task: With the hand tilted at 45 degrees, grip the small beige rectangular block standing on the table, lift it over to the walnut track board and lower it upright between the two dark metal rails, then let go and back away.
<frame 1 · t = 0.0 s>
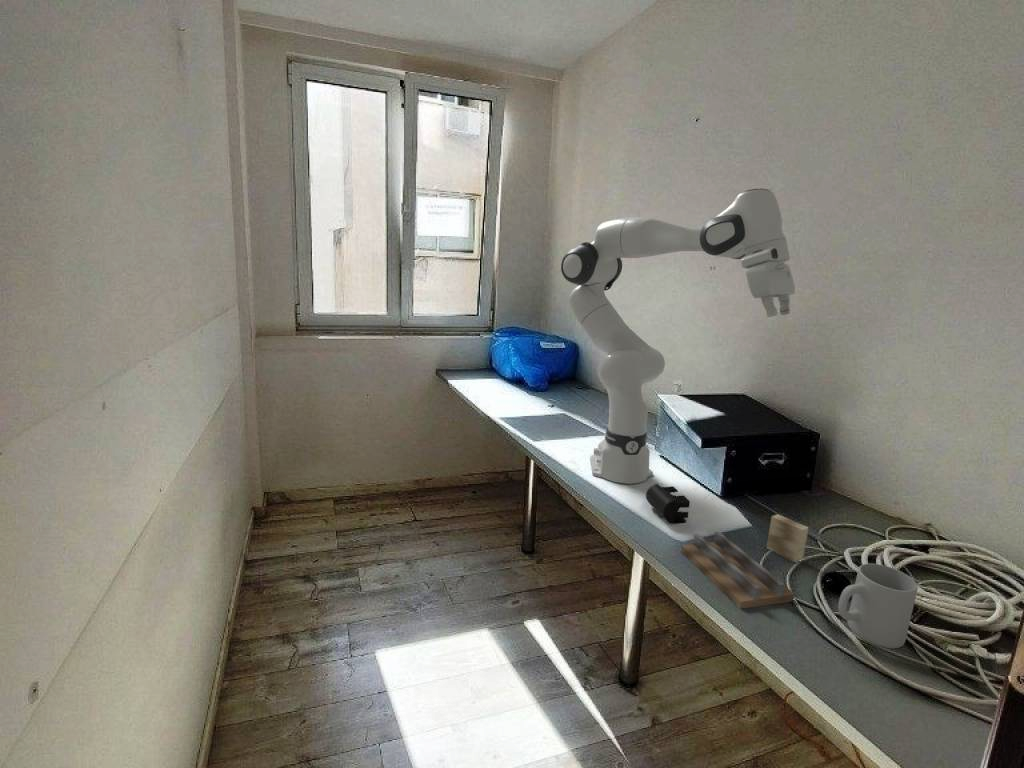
hand: (779, 315, 119), 52 cm above the table, tool tilted 20°, fingers open, 8 cm apart
mug: (865, 632, 91), on the table
track board: (733, 574, 106), on the table
black notched cylinder: (665, 516, 131), on the table
beige rectangular block: (784, 554, 115), on the table
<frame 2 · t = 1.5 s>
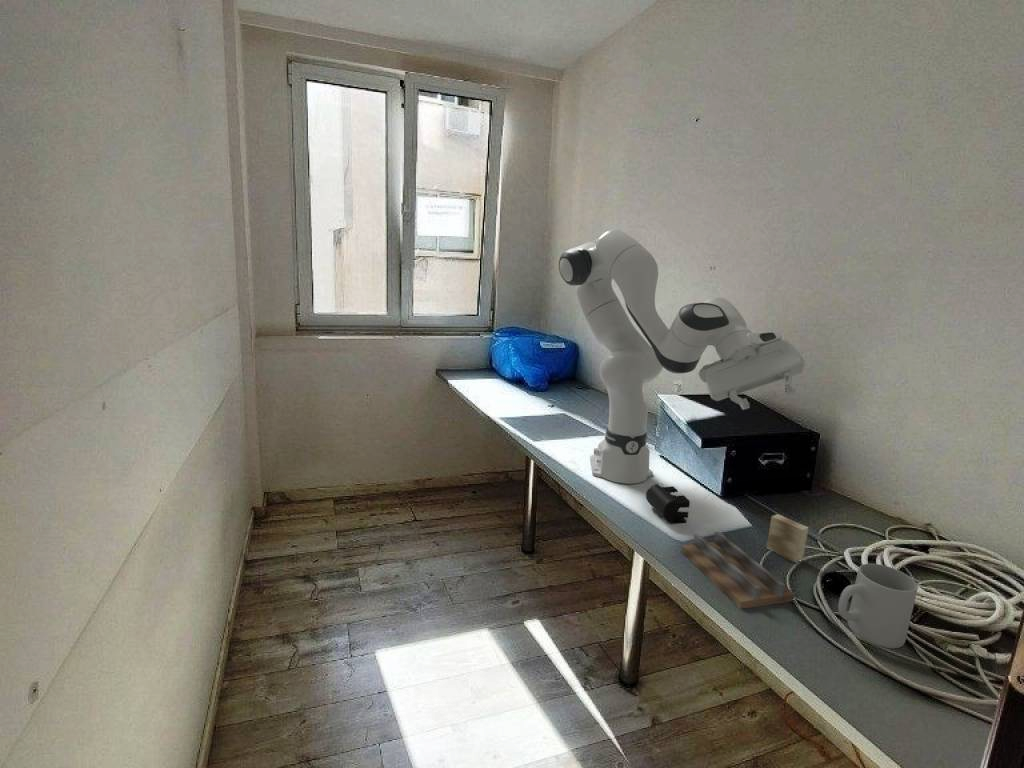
hand: (768, 400, 108), 35 cm above the table, tool tilted 55°, fingers open, 8 cm apart
nothing on the table moved.
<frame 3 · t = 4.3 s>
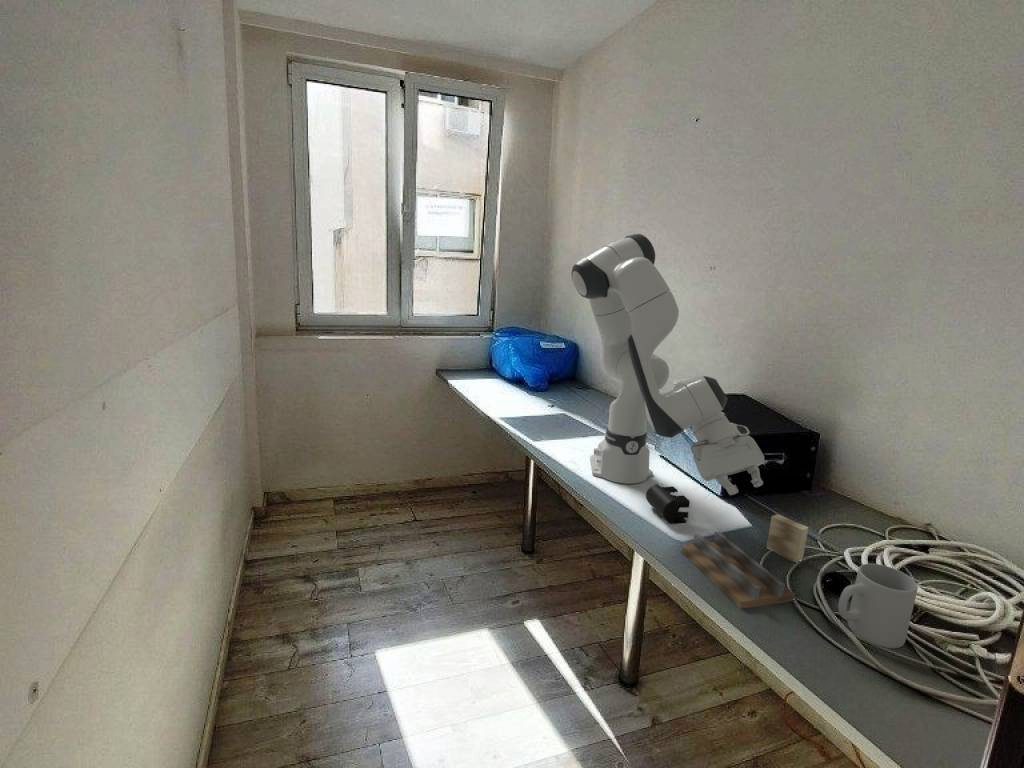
hand: (747, 489, 119), 12 cm above the table, tool tilted 45°, fingers open, 8 cm apart
nothing on the table moved.
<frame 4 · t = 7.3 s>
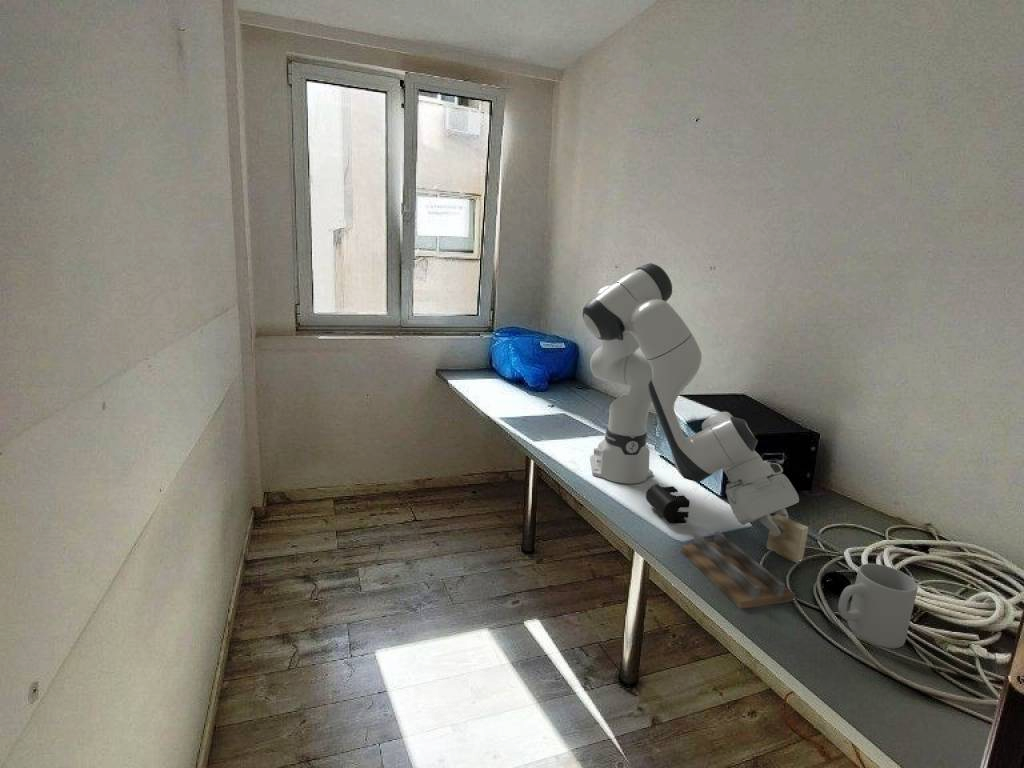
hand: (783, 532, 114), 5 cm above the table, tool tilted 45°, fingers closed on beige rectangular block, 2 cm apart
beige rectangular block: (784, 554, 115), on the table, touching gripper
everything else where it was.
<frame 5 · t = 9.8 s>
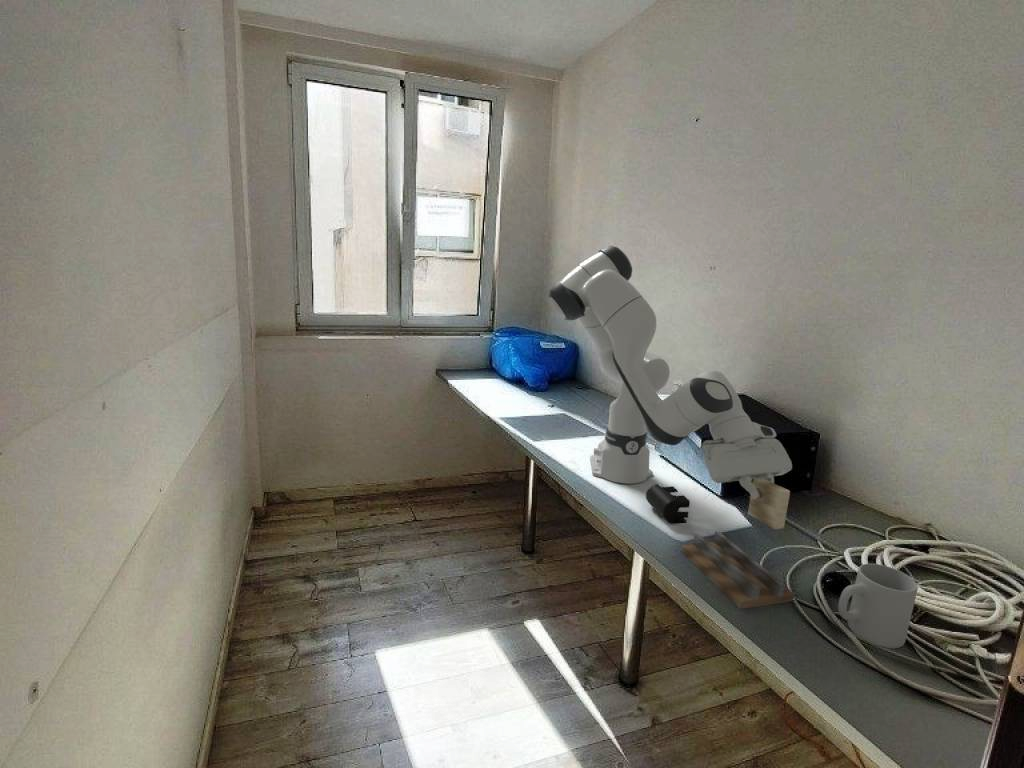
hand: (765, 497, 106), 16 cm above the table, tool tilted 45°, fingers closed on beige rectangular block, 2 cm apart
beige rectangular block: (765, 520, 106), point 11 cm above the table, touching gripper
everything else where it was.
when the fingers open (7 cm above the table, at t = 12.7 s): beige rectangular block stays where it is, resting on track board.
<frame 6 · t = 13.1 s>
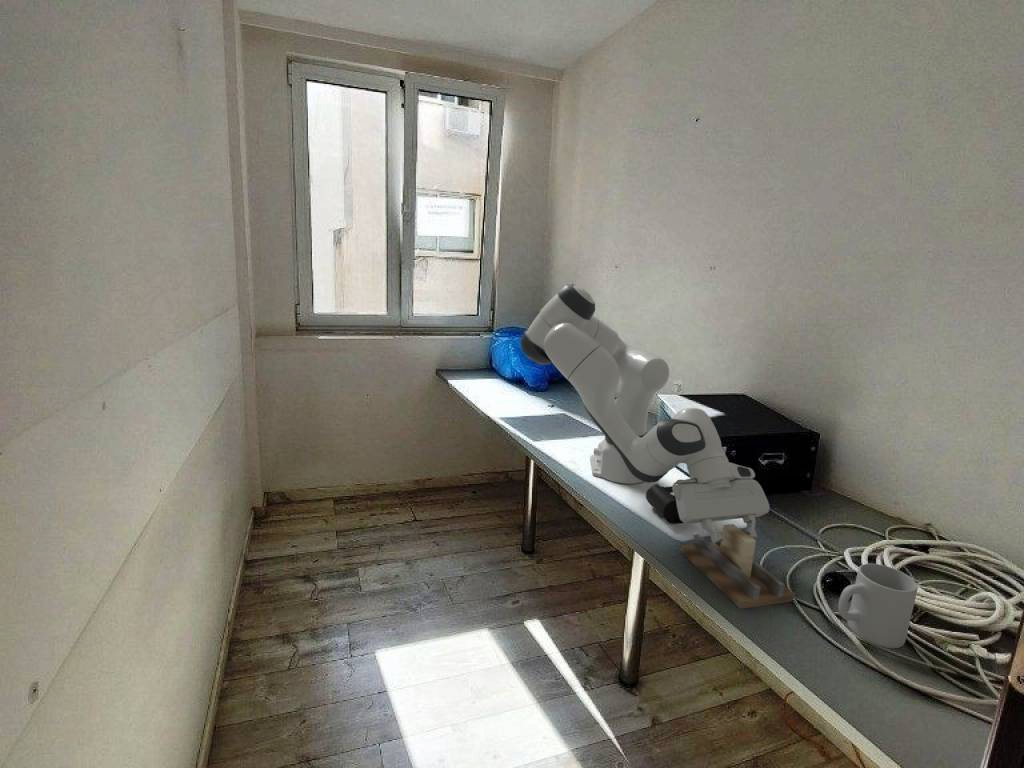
hand: (735, 540, 105), 7 cm above the table, tool tilted 45°, fingers open, 7 cm apart
beige rectangular block: (733, 567, 106), point 2 cm above the table, touching track board
everything else where it was.
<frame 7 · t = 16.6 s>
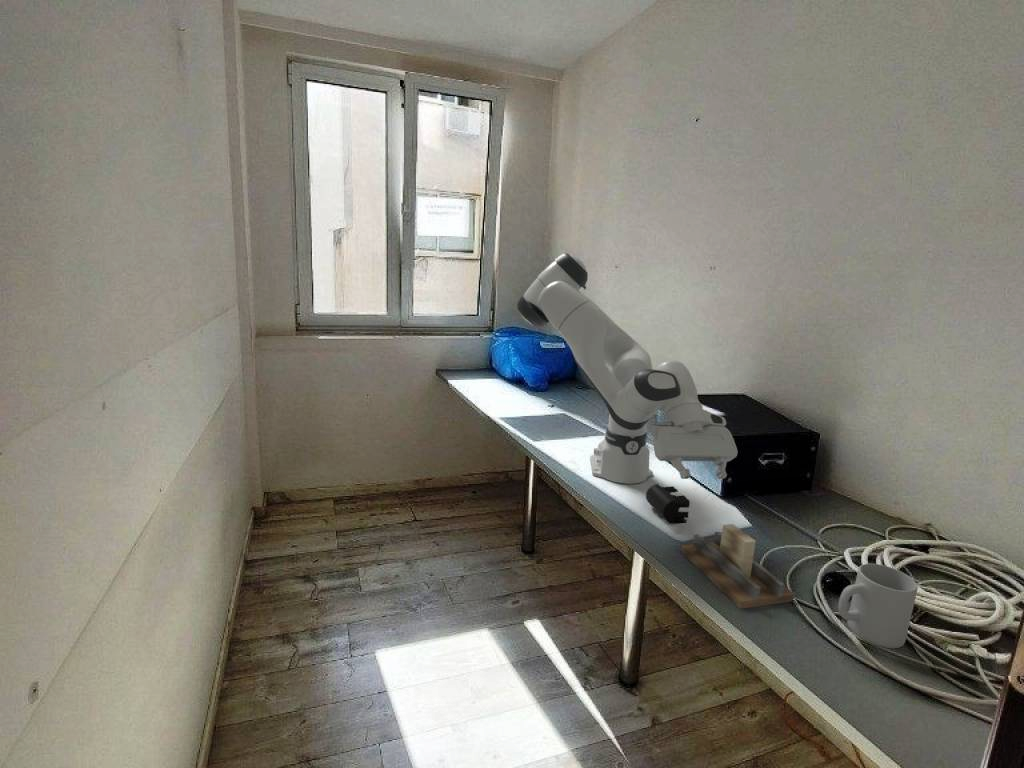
hand: (704, 478, 114), 16 cm above the table, tool tilted 45°, fingers open, 8 cm apart
nothing on the table moved.
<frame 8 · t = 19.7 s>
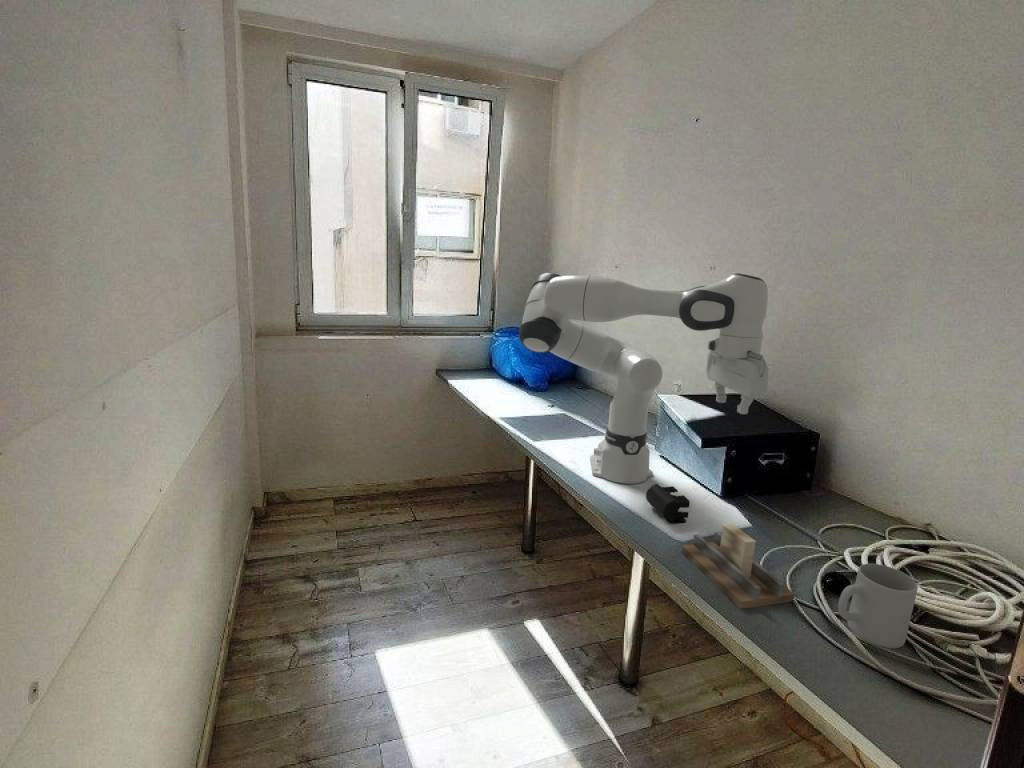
hand: (731, 407, 117), 31 cm above the table, tool pointing down, fingers open, 8 cm apart
nothing on the table moved.
at the end: beige rectangular block inside the target area on the track board (0.1 cm from its centre), point 1.5 cm above the track board's base; beige rectangular block tilted 0°; the gripper is holding nothing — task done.
